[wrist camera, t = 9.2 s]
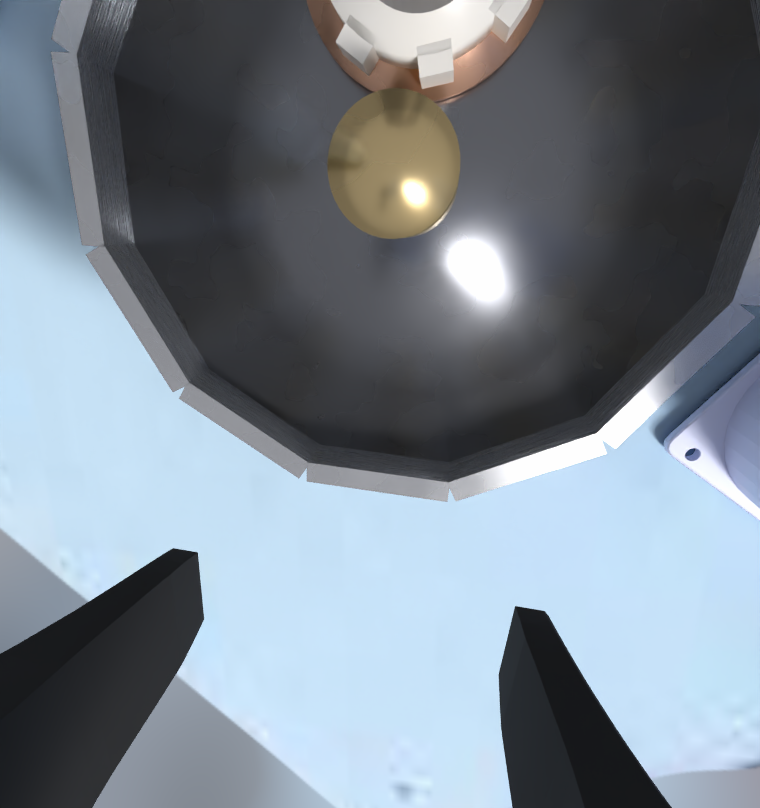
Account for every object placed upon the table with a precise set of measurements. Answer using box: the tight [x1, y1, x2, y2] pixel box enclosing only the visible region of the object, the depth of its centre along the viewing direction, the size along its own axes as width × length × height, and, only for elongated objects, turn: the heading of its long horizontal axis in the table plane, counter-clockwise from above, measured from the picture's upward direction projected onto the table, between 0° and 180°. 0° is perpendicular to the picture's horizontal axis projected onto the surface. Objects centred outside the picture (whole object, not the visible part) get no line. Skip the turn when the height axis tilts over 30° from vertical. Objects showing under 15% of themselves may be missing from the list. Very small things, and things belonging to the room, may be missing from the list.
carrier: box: [51, 0, 760, 502], centre depth 13 cm, size 21×21×5 cm
